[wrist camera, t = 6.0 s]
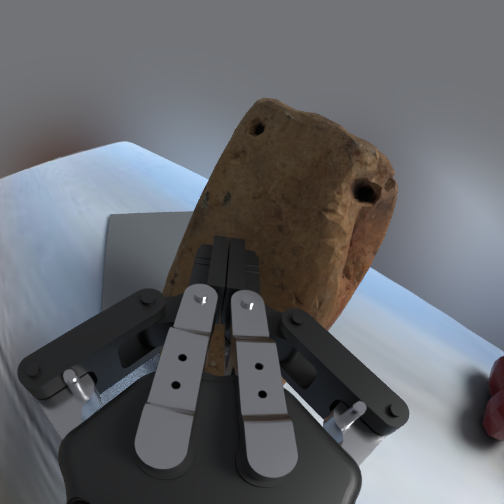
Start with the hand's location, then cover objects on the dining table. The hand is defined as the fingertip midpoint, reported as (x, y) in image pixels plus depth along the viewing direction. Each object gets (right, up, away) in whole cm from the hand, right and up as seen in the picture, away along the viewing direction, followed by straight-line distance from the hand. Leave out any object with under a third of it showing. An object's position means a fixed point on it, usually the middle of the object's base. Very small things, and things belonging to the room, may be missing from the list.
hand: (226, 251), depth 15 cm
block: (-2, -10, +9) cm, 13 cm away
